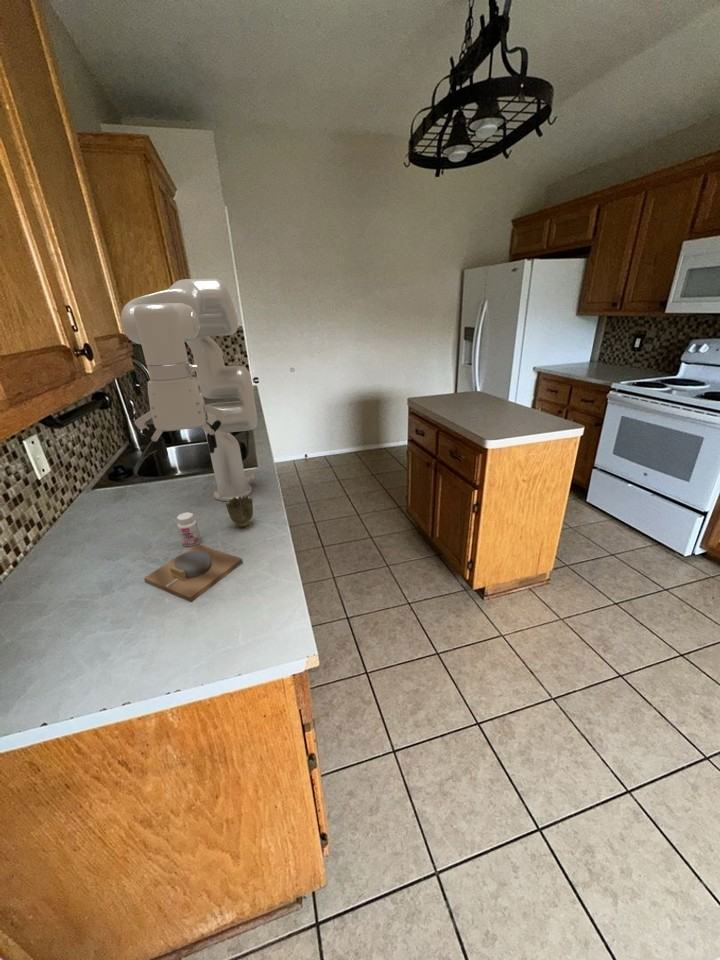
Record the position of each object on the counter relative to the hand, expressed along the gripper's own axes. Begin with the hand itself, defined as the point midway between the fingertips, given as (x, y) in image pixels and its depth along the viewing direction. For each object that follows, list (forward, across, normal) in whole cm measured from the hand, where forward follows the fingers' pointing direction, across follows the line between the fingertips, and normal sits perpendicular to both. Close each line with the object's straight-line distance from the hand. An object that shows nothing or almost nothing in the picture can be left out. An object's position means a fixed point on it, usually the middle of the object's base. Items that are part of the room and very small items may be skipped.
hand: (189, 454), depth 84 cm
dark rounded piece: (+31, -6, -20) cm, 37 cm away
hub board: (+31, +5, -1) cm, 31 cm away
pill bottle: (+31, +8, -16) cm, 35 cm away
